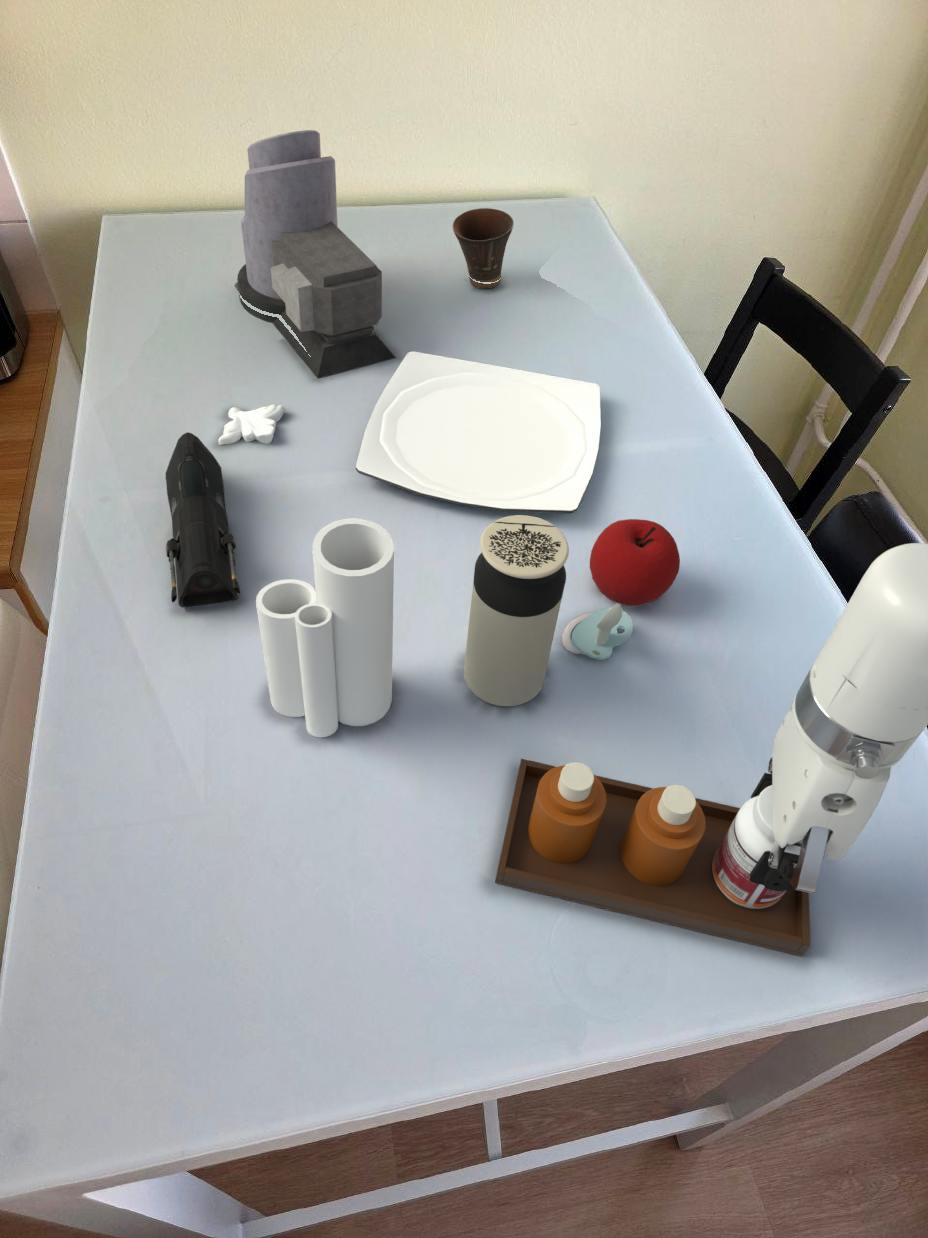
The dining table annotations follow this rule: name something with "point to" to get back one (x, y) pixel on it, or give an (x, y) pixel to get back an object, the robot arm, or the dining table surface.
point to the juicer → (307, 258)
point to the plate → (484, 435)
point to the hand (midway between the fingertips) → (769, 842)
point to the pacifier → (597, 632)
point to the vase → (333, 631)
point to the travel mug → (514, 608)
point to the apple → (634, 561)
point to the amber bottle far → (566, 812)
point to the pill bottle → (748, 853)
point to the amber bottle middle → (662, 834)
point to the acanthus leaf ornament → (252, 424)
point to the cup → (483, 243)
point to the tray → (618, 890)
